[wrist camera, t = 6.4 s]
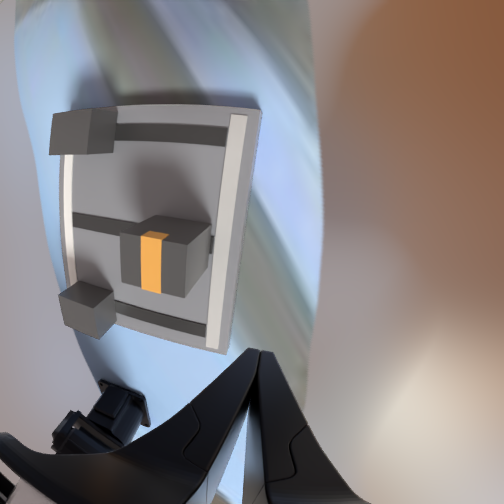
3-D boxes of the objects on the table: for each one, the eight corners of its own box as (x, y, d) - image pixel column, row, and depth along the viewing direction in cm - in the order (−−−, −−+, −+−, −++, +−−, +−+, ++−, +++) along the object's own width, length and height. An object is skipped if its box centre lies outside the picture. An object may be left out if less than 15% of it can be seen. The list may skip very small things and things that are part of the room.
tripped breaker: (207, 267, 19) (184, 299, 14) (154, 256, 19) (121, 283, 15) (212, 223, 18) (187, 244, 13) (155, 214, 18) (119, 231, 14)
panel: (229, 346, 22) (217, 381, 18) (77, 301, 24) (51, 322, 20) (262, 112, 16) (253, 99, 12) (73, 112, 17) (38, 110, 13)
